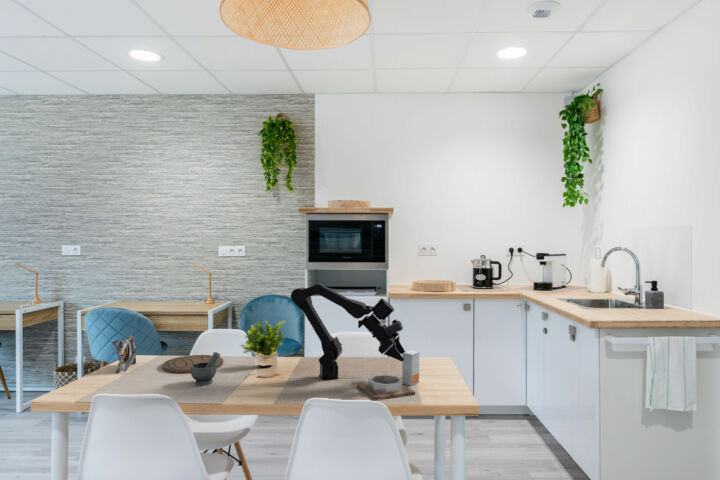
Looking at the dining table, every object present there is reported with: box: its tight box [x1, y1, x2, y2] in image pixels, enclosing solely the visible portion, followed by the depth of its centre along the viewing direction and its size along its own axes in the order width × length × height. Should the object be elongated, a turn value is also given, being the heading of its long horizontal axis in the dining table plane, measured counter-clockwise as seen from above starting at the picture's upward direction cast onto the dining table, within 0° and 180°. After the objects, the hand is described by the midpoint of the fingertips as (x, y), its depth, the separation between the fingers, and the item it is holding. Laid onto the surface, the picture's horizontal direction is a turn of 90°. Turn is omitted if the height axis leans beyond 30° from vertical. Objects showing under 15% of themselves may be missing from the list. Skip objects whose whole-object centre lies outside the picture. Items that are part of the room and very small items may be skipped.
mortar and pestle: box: [190, 351, 221, 387], centre depth 174 cm, size 11×9×12 cm
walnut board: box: [356, 382, 416, 401], centre depth 167 cm, size 16×16×1 cm
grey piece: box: [112, 334, 137, 374], centre depth 194 cm, size 15×4×13 cm, turn 7°
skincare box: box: [401, 350, 420, 387], centre depth 175 cm, size 6×4×12 cm
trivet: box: [162, 354, 224, 374], centre depth 200 cm, size 25×25×2 cm
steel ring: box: [367, 374, 404, 393], centre depth 167 cm, size 12×12×3 cm
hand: (404, 357), depth 176 cm, fingers open, 9 cm apart
